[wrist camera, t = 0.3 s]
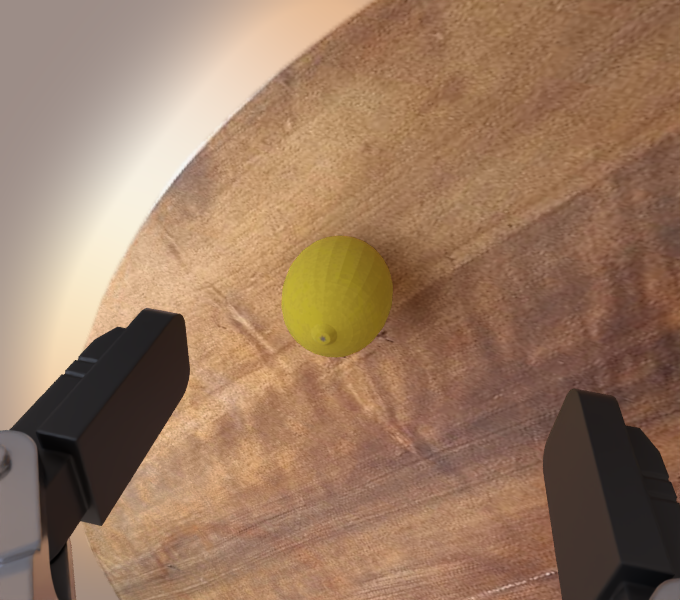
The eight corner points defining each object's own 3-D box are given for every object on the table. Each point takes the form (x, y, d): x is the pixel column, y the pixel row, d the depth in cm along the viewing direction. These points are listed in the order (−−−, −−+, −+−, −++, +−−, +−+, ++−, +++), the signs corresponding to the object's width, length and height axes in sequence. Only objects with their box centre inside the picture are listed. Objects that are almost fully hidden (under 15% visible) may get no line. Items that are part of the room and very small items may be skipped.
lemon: (408, 290, 31) (398, 379, 24) (320, 307, 33) (287, 394, 26) (383, 202, 28) (364, 274, 22) (289, 225, 30) (243, 297, 23)
